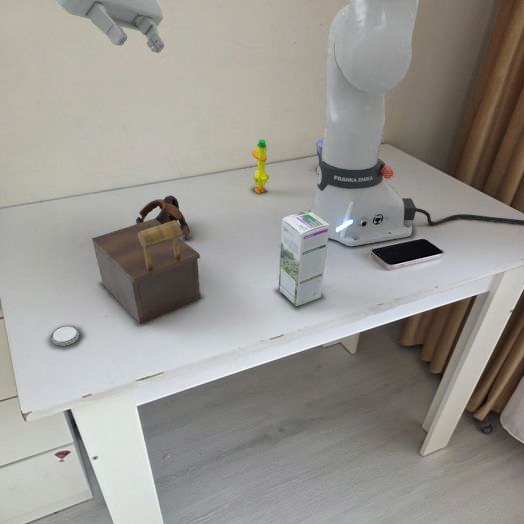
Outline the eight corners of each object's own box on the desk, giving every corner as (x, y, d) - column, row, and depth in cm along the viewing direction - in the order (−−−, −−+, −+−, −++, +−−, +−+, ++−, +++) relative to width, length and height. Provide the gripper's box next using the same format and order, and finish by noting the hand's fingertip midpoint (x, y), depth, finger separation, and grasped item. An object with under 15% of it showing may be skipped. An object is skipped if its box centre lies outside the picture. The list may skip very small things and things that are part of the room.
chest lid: (200, 258, 79) (197, 218, 74) (134, 283, 73) (126, 242, 68) (155, 222, 87) (149, 184, 82) (92, 242, 81) (83, 203, 76)
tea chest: (200, 297, 85) (197, 256, 79) (139, 323, 79) (131, 281, 74) (160, 262, 93) (155, 222, 87) (102, 284, 87) (92, 242, 81)
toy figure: (246, 186, 118) (246, 135, 110) (259, 183, 119) (261, 133, 111) (258, 197, 114) (260, 145, 105) (272, 194, 115) (274, 143, 107)
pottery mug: (189, 249, 97) (165, 220, 91) (152, 261, 101) (126, 234, 95) (198, 208, 103) (176, 178, 97) (163, 221, 107) (139, 193, 101)
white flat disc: (54, 348, 74) (53, 345, 74) (50, 332, 77) (49, 329, 76) (81, 341, 76) (80, 338, 75) (76, 326, 78) (75, 323, 78)
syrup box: (322, 297, 86) (332, 223, 76) (294, 308, 83) (302, 232, 73) (303, 281, 89) (310, 208, 79) (276, 291, 87) (280, 216, 77)
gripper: (35, -90, 57) (108, 16, 59) (136, -43, 74) (190, 38, 76) (10, -44, 61) (80, 55, 62) (113, -9, 78) (165, 67, 80)
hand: (141, 45), depth 70 cm, fingers open, 8 cm apart
